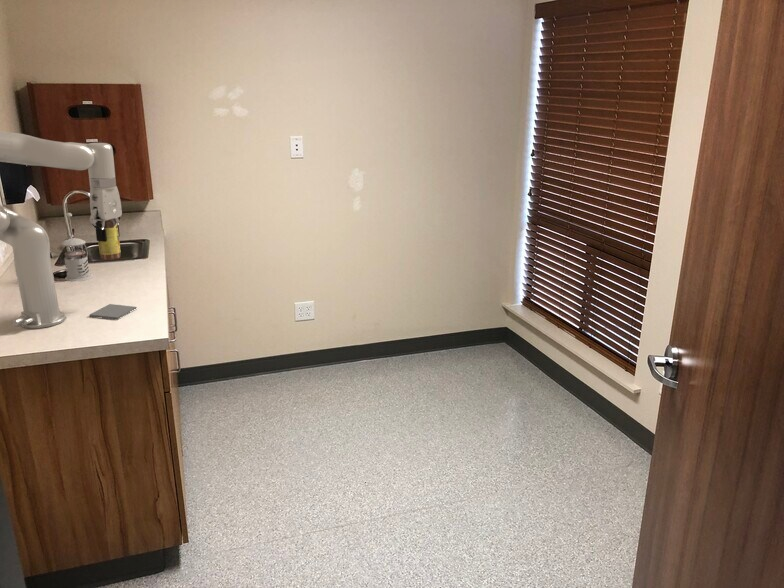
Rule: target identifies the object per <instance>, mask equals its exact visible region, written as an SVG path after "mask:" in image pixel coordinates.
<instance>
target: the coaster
mask: <svg viewBox="0 0 784 588" xmlns="http://www.w3.org/2000/svg"><path fill="white" fill-rule="evenodd" d="M136 308H137V306H132V305H122V304H115V303H114V304H113V303H109V304H107V305H105V306H102V307H101V308H99V309H97V310H95V311H93V312H91V313H89V317H90V318H96V317H102V318H101V319H105V318H110V319H109V320H115V319H118V320H120V319H121V318H120V317H122V316H124V315H125V314H127V313H129V312H130V311H132V310H134V309H136ZM137 309H138V308H137ZM137 309H136V310H137ZM134 311H135V310H134ZM132 312H133V311H132ZM129 314H130V313H129ZM127 315H128V314H127ZM125 316H126V315H125ZM125 316H124V317H125ZM119 318H120V319H119ZM122 318H123V317H122Z"/></svg>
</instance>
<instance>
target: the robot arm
mask: <svg viewBox="0 0 784 588" xmlns="http://www.w3.org/2000/svg"><path fill="white" fill-rule="evenodd" d="M0 162H1V163H10V164H18V165H25V166H39V167H49V168H56V169H64V170H72V171H73V170H75V171H84V170H85V171H86V170H88V171H87V172H88V180H89V188H90V189H89V207H90V215H89V216H90V217H89V219H88V221H89V222H90V224H92V226H93V228H94V229H95V237H96V242H98V241H102V242H106V241H107V236H106V229H104V227H105V221H108V220H112V219H116V221H117V226H118V234H119V238H120V237H121V235H120V220H121V216H122V214H123V210H122V202H121V201H122V200H121V198H120V192H119V189H118V186H117V180H116V169H115V160H114V150H113V146H112V145H111V144H110V143H107V142H91V143H83V142H73V141H69V142H67V141H66V142H63V141H55V140H49V139H44V138H40V137H36V136H32V135H28V134H25V133H19V132H11V131H4V130H3V131H2V130H0ZM98 218H101V219H98ZM99 221H100V222H101V224H100V223H99ZM0 241H1V242H3V243H6V244H8V245H10V246H11V247H12V252H13V265H14V270H15V275H16V278H17V279H16V280H17V284H18V290H19V295H20V299H21V304H22V305H21V306H22V310H23V311H21V312H20V314H21V315H20V316H19V317H17V318H14V319H13V320H12V325H13V326H14V327H17V326H21V327H22V328H25V329H43V328H49V327H53V326H56V325H58V324H62V323H63V322H64V321H65V320H66V319H67V315H66V313H65V312H63V311H60V306H59V302H58V301H59V300H58V294H57V289H56V283H55V277H54V273H53V267H52V260H51V259H52V258H51V246H50V237H49V235H48V233H47V231H46V229H44V227H43V226H41V225H40V224H39V223H37V222H36V221H33V220H31V219H29V218H27V217H25V216H24V215H22V214H19V213H17V212H16V211H13V210H12V209H10V208H7V207H5V206H3V205H2V204H0Z"/></svg>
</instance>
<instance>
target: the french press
mask: <svg viewBox="0 0 784 588" xmlns="http://www.w3.org/2000/svg"><path fill="white" fill-rule="evenodd" d="M65 215H66V217H68V219H69V225H70V230H71V237H72V238H69V239H65V240H64V241H62V242H61V245H62V246H63V247H73V249H74V250H71V251H68V252H67V251H66V252H65V253H64V264H65V270H66V277H65V278H64V281H67V282H83V281H87V280H88V281H89V280H90V279H92V278H93V277H94V275H93V274H92V273H90V267H89V260H88V249H87V246H86V240H83V239H82V238H75V237H74V235H73V228H72V223H71V217H72V216H73V214H72V213H71V212H67V213H66V214H65ZM83 245H84V247H85V250H86V251H85V250H84V247H83ZM75 247H78V248H81V250H76V248H75ZM81 256H82V257H81Z"/></svg>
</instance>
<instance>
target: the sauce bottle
mask: <svg viewBox="0 0 784 588" xmlns="http://www.w3.org/2000/svg"><path fill="white" fill-rule="evenodd" d="M98 219H101V218H98ZM99 223H100V224H101V222H100V221H99ZM104 229H106V236H107V241H106V242H102V241H97V242H98V248H99V249H98V250H99V255H100V258H101V260H104V261H106V260H107V261H111V260H118V259H120V258H121V255H122V254H121V252H122V251H121V244H120V237H119V234H120V233H119V234H118V226H117V221H116V219H112V220H108V221H105V227H104Z"/></svg>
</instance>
